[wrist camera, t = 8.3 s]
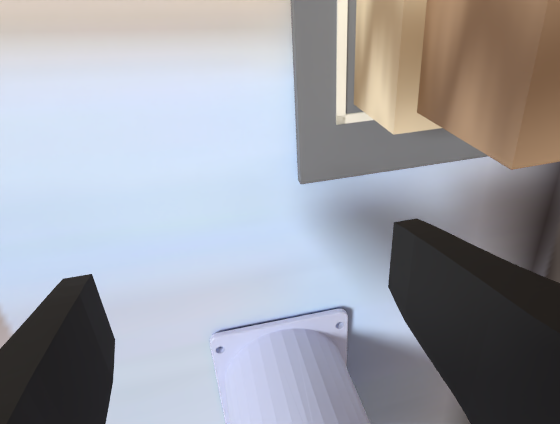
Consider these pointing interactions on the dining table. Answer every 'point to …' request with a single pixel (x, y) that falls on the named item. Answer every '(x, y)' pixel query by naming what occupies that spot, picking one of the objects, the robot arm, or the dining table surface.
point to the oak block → (390, 63)
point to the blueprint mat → (348, 105)
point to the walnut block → (494, 76)
